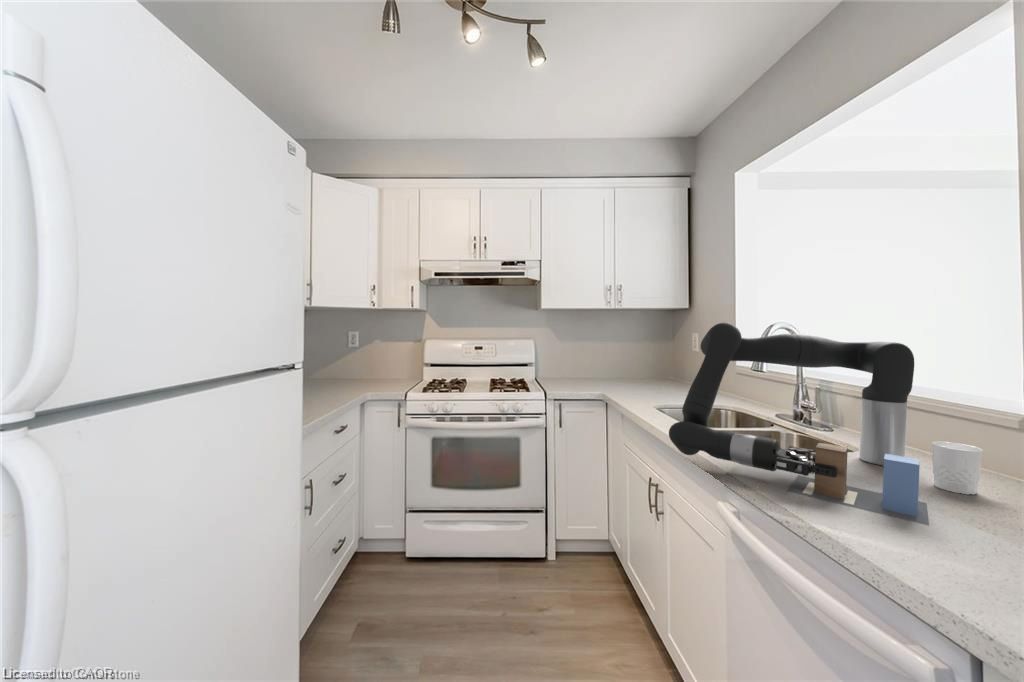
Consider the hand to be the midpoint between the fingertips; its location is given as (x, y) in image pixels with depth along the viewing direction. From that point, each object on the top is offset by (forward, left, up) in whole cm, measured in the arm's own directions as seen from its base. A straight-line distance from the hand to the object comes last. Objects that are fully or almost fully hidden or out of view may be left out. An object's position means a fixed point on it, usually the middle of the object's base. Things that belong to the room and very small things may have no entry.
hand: (839, 467), depth 88 cm
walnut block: (0, -2, -6) cm, 6 cm away
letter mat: (-1, +3, -7) cm, 7 cm away
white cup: (-26, +18, -7) cm, 33 cm away
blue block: (0, +10, -6) cm, 11 cm away
